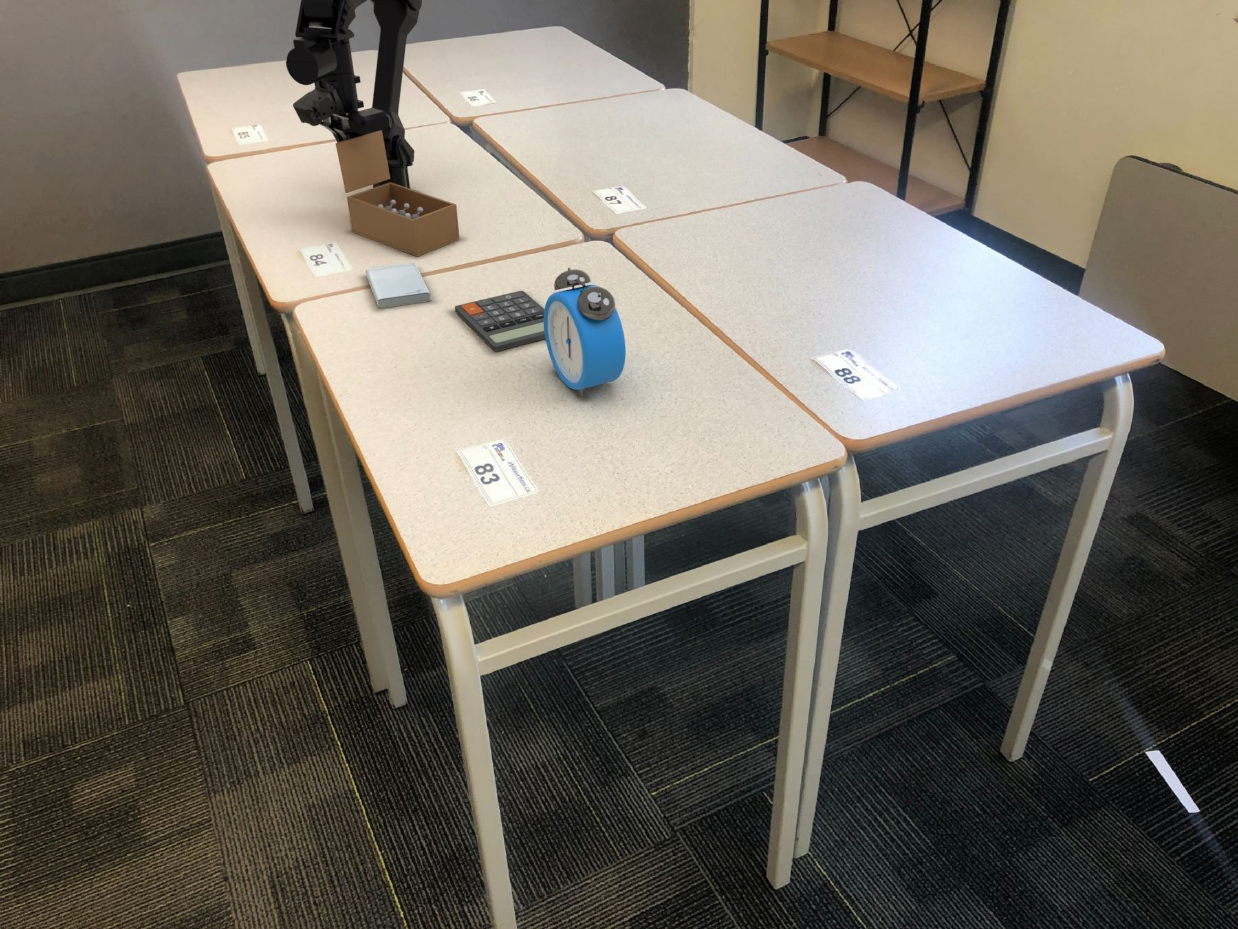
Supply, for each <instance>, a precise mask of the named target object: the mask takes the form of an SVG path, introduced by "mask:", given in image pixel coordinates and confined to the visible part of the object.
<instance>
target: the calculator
mask: <svg viewBox="0 0 1238 929" xmlns="http://www.w3.org/2000/svg"><path fill="white" fill-rule="evenodd" d="M544 309H545V307H543V306H542V305H540V304H539V302H537V301H536V300H535V299H534V298H532V297H531V296H530V295H529V294H528V293H527V292H525V291H524V290H518V291H513V292H508V293H505V294H501V295H496V296H492V297H488V298H483V299H478V300H475V301H469V302H467V303H462V304H458V305H455V306H454V312H455V313H456V314H457V315H458V316H459V317H460V318H461V319H462V320H463V321H464V322H465V323H466V324H467V325H468V327H470V328H471V329H472V330H473V331H474V333H476V335H478V336H479V338H481V339H482V340H483V342H485V344H486V345H488V347H489V348H491V350H492V351H493V352H500V351H503V350H507V349H511V348H514V347H519V346H523V345H526V344H530V343H534V342H538V341H542V340H546V339H545V333H544Z"/></svg>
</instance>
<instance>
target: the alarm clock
mask: <svg viewBox="0 0 1238 929" xmlns="http://www.w3.org/2000/svg"><path fill="white" fill-rule="evenodd" d="M589 283H592V280H591V277H590V276H589V274H588V273H587V272H585V271H584V270H581V269H577V268H574V269H571V267H568V268H567V270H565V271H562V272H561V273H559V275H558V276H557V277H556V278H555V280H554V283H553V288H554V291H556V292H553V293H551V294H550V295H549V296H548V298H547V299H546V302H545V305H544V333H545V339H544V340H545V344H546V348H547V351H548V355H549V358H550V360H551V363H552V365H553V368H554V370H555V372H556V373H557V375H558V377H559V378H560V380H561V381H562V382H563V383H564V384H565V385H566V386H567V387H568V388H570V389H572V390H574V391H578V392H579V395H580V397H584V390H585V389H589V388H593V387H596V386H600V385H603V384H607V383H611V382H615V381H616V380H618V379H619V378H620V376H622V373H623V370H624V368H625V363H626V355H627V354H626V350H627V349H626V348H627V347H626V339H625V338H626V337H625V333H624V329H623V325H622V320H621V317H620V315H619V312H618V310H617V308H616V301H615V298H614V295H613V294H612V293H611V292H610V291H609V290H608V289H606V288H604V287H602V286H599V285H597V284H589ZM577 286H578V287H577ZM567 288H569V289H567ZM564 289H565V290H564ZM559 290H560V291H559Z"/></svg>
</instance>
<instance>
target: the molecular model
mask: <svg viewBox="0 0 1238 929" xmlns="http://www.w3.org/2000/svg"><path fill="white" fill-rule="evenodd" d="M390 204H391V205H390V206H386V207H385V208H384V207H383V205H381V204H379V205H378V207H380V208H383V209H386V210H389V211H392V212H394V213H397V214H400V215H403V216H406V217H408V218H411V219H415V218H418V217H419V216H418V215H419V213H422V212H423V208H421V207H419V208H418V209H417V211H418V213H417V214H413V215H412V216H411V215H410V214H409V213H406V212H405V210H406V209H409V207H410V206H409V204H407V203H406V204H404V210H399V211H398V212H397V210H396V209H392V208H391V207H392V205H393V206H394V205H395V204H396V201H395V200H391V201H390Z"/></svg>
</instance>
